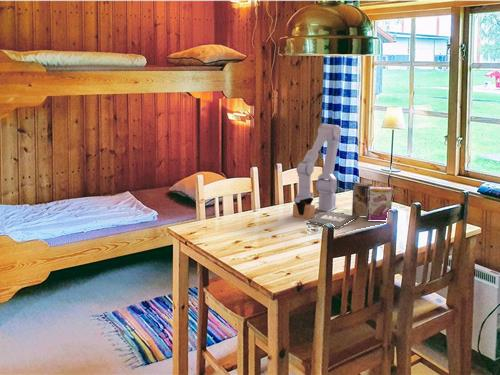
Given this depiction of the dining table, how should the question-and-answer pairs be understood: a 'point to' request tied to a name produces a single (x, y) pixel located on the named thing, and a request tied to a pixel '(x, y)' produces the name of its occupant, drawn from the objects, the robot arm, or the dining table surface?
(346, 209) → the dining table surface
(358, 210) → the coffee box
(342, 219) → the pin board
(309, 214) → the block
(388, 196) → the candy bar box
